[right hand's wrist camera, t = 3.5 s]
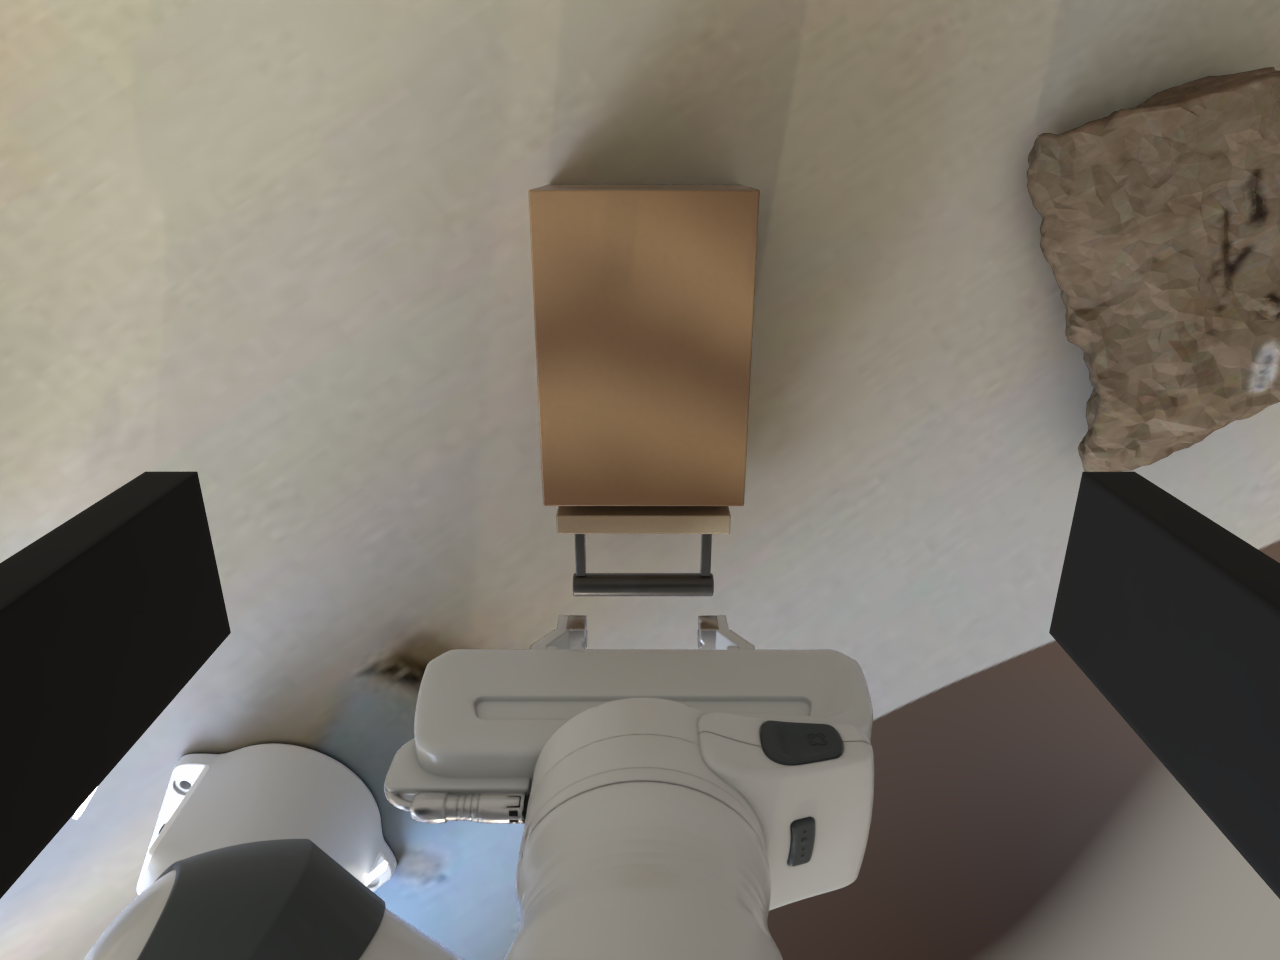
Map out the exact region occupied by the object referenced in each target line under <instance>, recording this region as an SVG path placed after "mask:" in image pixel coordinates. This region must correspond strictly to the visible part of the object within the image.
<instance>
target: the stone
mask: <svg viewBox="0 0 1280 960" xmlns="http://www.w3.org/2000/svg"><path fill="white" fill-rule="evenodd" d="M1028 162H1029V165H1030V167H1029V169H1028V171H1027V178H1028V184H1027V187H1028V191H1029V194H1030V197H1031V199H1032V201H1033V205H1034V207H1035V208H1036V209H1037V211H1038V212H1039V214H1040V215H1041V216H1042V223H1041V227H1040V232H1041V242H1040V247H1041V249H1042V252H1043V254H1044V256H1045V259H1046V260H1047V261H1048V263H1049V264H1050V265H1051V267H1052V269H1053V272H1054V275H1055V278H1056V281H1057V283H1058V285H1059V287H1060V288H1061V289H1062V290H1061V298H1062V300H1063V302H1064V304H1065V307H1066V336H1067V339H1068V341H1069V342H1070V343H1075V344H1076V345H1078V346H1079V347H1080V348H1081V349H1082V350H1083V351H1084V361H1085V363H1086V365H1087V367H1088V369H1089V377H1090V381H1091V383H1092V385H1093V386H1094V390H1093V392H1092V394H1091V397H1090V399H1089V400H1088V402H1087V407H1086V419H1087V423H1088V432H1087V434H1086V436H1085V437H1084V438H1083V440H1082V442H1081V443H1080V444H1079V446H1078V451H1079V455H1080V457H1081V460H1082V462H1083V468H1084V471H1085V472H1121V471H1131V470H1134V469H1136V468H1138V467H1140V466H1145V465H1150V464H1152V463H1154V462H1156V461H1158V460H1160V459H1163V458H1165V457H1168V456H1169V455H1170V454H1172V453H1173V452H1175V451H1178V450H1181V449H1184V448H1189V447H1190V446H1192V445H1193V444H1195V443H1197V442H1200V441H1202V440H1203V439H1204V438H1205V437H1207V436H1208V435H1209V434H1211V433H1212V432H1213V431H1215V430H1217V429H1220V428H1222V427H1224V426H1226V425H1227V424H1229V423H1230V422H1232V421H1235V420H1241V419H1245V418H1249V417H1251V416H1253V415H1255V414H1257V413H1259V412H1260V411H1262V410H1263V409H1265V408H1266V407H1268V406H1270V405H1272V404H1275V403H1278V402H1280V71H1275V69H1274V67H1268V68H1262V69H1258V70H1253V71H1248V72H1242V73H1237V74H1231V75H1223V76H1208V77H1205V78H1202V79H1198V80H1195V81H1192V82H1189V83H1186V84H1183V85H1181V86H1177V87H1173V88H1170V89H1168V90H1165V91H1163V92H1160V93H1156V94H1155V95H1154V96H1152V97H1151V98H1150V99H1148V100H1147V101H1146V102H1144V103H1143V104H1141V105H1140V106H1138V107H1136V108H1133V109H1121V110H1119V111H1115V112H1113V113H1112V114H1111V115H1109V116H1108V117H1106V118H1102V119H1099V120H1095V121H1092V122H1088V123H1086V124H1085V125H1083V126H1081V127H1079V128H1076V129H1073V130H1070V131H1068V132H1065V133H1062V134H1060V135H1054V134H1051V133H1043V134H1041V135H1039V136H1038V137H1037V139H1036V140H1035V143H1034V146H1033V148H1032V150H1031V152H1030V154H1029V157H1028Z"/></svg>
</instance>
